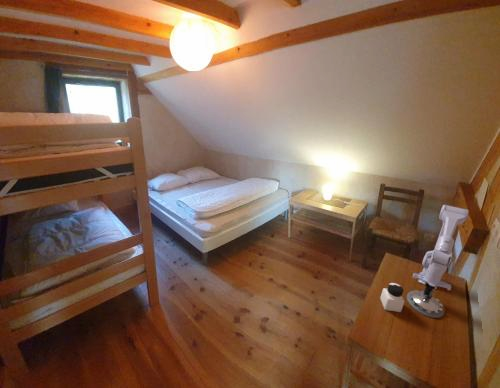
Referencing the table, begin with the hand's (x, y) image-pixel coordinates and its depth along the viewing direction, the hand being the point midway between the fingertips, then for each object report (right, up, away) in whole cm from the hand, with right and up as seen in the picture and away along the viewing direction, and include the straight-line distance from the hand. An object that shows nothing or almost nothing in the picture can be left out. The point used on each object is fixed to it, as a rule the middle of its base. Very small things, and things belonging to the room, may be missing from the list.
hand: (425, 293), depth 114 cm
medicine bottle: (-19, -5, -2) cm, 20 cm away
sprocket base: (-2, -4, -2) cm, 5 cm away
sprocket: (-2, -3, -2) cm, 4 cm away
